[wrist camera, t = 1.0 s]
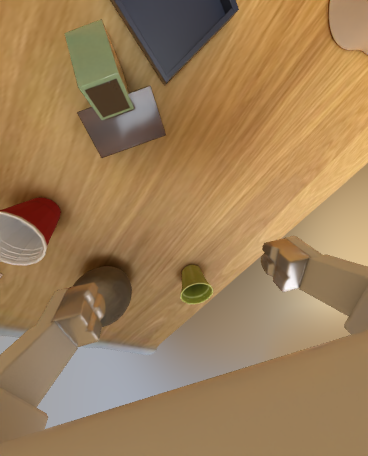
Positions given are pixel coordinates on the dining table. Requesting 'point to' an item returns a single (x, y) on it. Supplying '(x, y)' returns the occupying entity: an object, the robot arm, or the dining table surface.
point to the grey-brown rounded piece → (110, 290)
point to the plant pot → (194, 286)
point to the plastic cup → (27, 230)
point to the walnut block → (125, 125)
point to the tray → (173, 28)
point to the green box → (98, 70)
